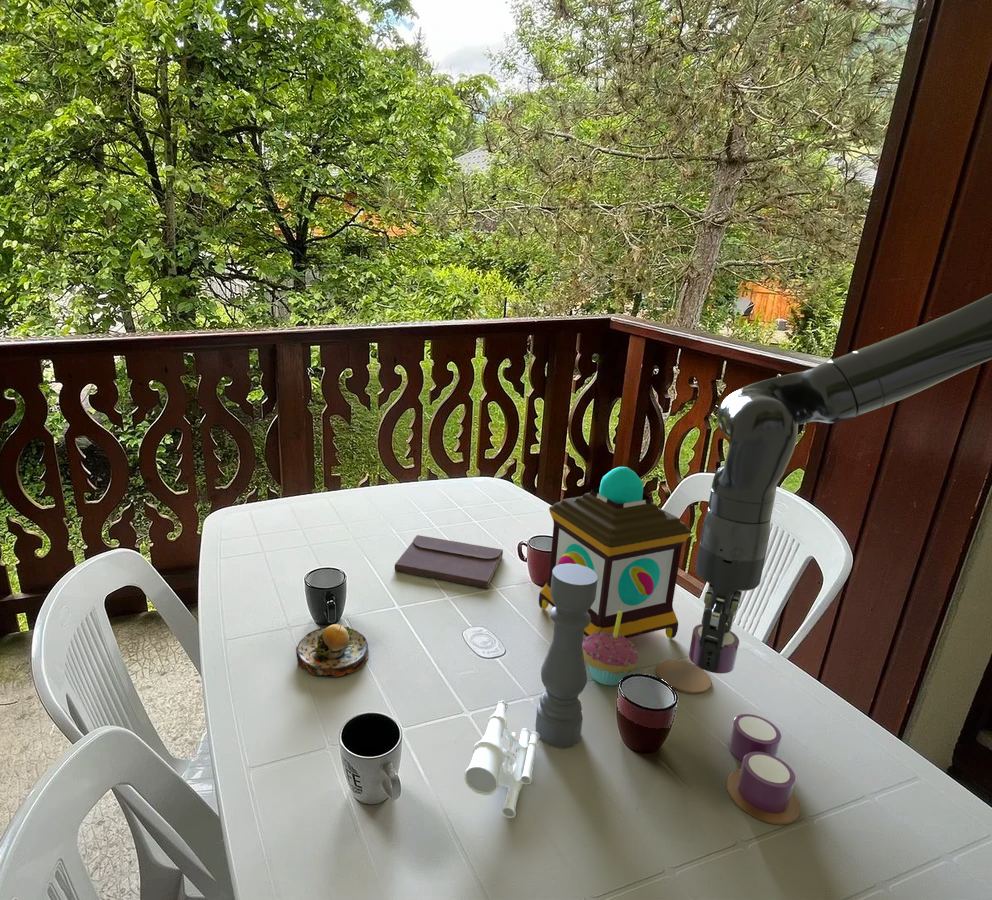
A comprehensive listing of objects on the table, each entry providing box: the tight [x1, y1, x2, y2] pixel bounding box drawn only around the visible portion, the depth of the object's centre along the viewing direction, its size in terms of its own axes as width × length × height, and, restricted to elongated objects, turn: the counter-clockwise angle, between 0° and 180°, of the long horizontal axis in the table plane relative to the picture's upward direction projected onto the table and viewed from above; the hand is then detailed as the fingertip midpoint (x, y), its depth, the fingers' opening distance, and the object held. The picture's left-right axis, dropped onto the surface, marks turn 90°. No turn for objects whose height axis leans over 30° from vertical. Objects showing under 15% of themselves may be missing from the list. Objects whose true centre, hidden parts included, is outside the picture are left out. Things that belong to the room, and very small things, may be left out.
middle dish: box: [728, 713, 782, 763], centre depth 85 cm, size 6×6×4 cm
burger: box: [295, 623, 370, 678], centre depth 105 cm, size 12×12×8 cm
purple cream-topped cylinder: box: [688, 623, 740, 675], centre depth 86 cm, size 6×6×4 cm
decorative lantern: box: [538, 466, 692, 639], centre depth 111 cm, size 20×20×30 cm
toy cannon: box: [463, 700, 540, 819], centre depth 82 cm, size 8×14×5 cm
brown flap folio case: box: [394, 534, 504, 589], centre depth 136 cm, size 15×20×2 cm
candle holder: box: [534, 563, 598, 749], centre depth 86 cm, size 6×6×25 cm
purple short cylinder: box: [738, 752, 796, 813], centre depth 78 cm, size 6×6×4 cm
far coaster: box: [655, 658, 712, 695], centre depth 101 cm, size 8×8×1 cm
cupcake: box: [582, 606, 639, 686], centre depth 99 cm, size 9×8×12 cm
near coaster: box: [726, 769, 801, 826], centre depth 79 cm, size 8×8×1 cm
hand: (711, 657), depth 86 cm, fingers closed on purple cream-topped cylinder, 5 cm apart
